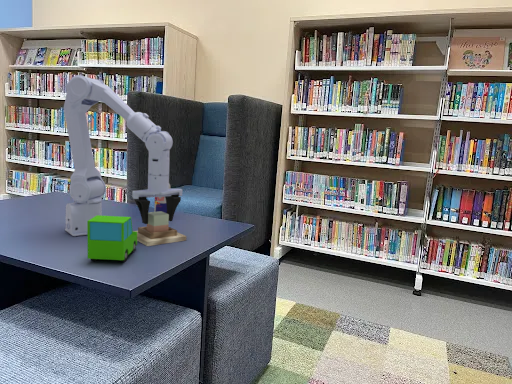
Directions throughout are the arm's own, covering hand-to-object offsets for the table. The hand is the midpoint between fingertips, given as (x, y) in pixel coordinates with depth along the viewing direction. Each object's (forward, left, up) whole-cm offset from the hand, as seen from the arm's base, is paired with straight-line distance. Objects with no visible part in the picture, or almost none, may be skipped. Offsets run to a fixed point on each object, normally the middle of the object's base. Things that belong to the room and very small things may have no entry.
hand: (157, 221), depth 117 cm
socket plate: (0, 0, -5) cm, 5 cm away
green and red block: (0, 0, -4) cm, 4 cm away
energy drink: (+14, +24, -5) cm, 28 cm away
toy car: (-16, -9, -5) cm, 19 cm away
